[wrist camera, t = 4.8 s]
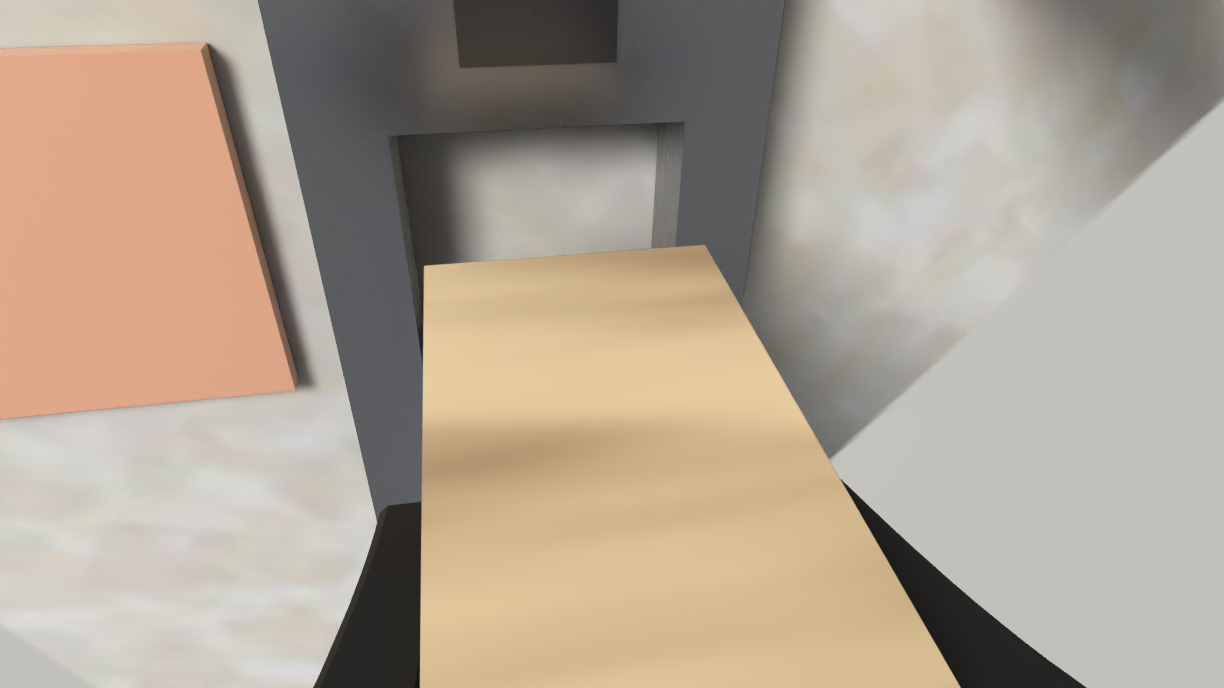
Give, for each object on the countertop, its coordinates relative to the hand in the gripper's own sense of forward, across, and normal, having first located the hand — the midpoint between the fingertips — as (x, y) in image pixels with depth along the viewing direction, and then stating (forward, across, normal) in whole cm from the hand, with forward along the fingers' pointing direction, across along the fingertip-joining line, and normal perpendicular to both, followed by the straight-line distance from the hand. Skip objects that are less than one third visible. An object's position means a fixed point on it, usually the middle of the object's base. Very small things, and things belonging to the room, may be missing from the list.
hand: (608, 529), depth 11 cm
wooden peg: (+4, 0, 0) cm, 4 cm away
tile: (+9, +10, 0) cm, 14 cm away
